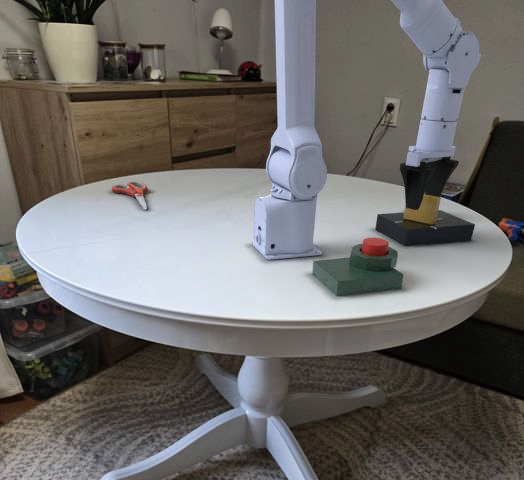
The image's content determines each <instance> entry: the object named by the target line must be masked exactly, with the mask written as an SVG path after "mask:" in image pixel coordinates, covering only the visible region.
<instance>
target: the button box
mask: <svg viewBox="0 0 524 480" xmlns="http://www.w3.org/2000/svg"><path fill="white" fill-rule="evenodd" d="M361 250H362V243H358V244H356V245H354V246H351V249H350V257H339V258H328V259H319V260H313V261H312V272H311V274H312V276H313V277H314V278H315V279H316V280H318V282H320V283H321V284H322V285H323V287H325V288H327V290H329V292H331V293H332V294H333V295H334V296H335V297H342V296H344V297H345V296H350V295H351V296H353V295H359V294H367V293H369V294H370V293H377V292H386V291H392V290H402V286H403V280H404V276H405V275H404V273H402V272H401V271H399V270H398V269H396V267H397V263H398V258H399V253H398V250H396V249H394V248H392V247H391V246H388V251H387V255H386V256H371V255H367V254H363V253H362V252H361Z"/></svg>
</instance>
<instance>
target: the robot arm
mask: <svg viewBox="0 0 524 480" xmlns="http://www.w3.org/2000/svg"><path fill="white" fill-rule="evenodd" d="M390 2H391V3H393V5H394V6H395V7H396V8H397V9H398V10H399V11H400V18H399V26H400V28H401V29H402V30H403V31H404V33H405V34H406V35H407V36H408V37H409V38H410V40H411V41H412V42H413V44H414V45H415V46H416V47H417V48H418V50H419V51H420V52H421V53H422V61H423V67H424V69H425V71H428V77H427V82H426V88H425V94H424V99H423V105H422V110H421V116H420V121H419V127H418V131H417V138H416V143H415V145H409V146H408V152H407V153H406V154H407V155H406V160H405V162H401V163H400V164H399V172H400V174H401V177H402V180H403V186H404V200H405V205H406V208H409V209H413V210H418V209H419V207H420V205H421V203H422V200H423V196H424V193H425V195H431V196H436V197H441V195H442V194H443V191H444V189H445V187H446V185H447V182H448V181H449V179H450V178H451V176H452V174H453V173H454V171H455V170H456V169H457V168H458V166H459V163H460V161H459V160H457V159H454V156H455V152H456V148H457V146H456V145H453V143H454V139H455V135H456V129H457V125H458V121H459V116H460V111H461V107H462V103H463V98H464V93H465V89H466V88H467V85H469V84H470V83H469V82H470V78H471V75H472V73H473V72H474V71H475V70H476V68H477V67H478V65H479V63H480V61H481V58H482V53H480V42H479V40H478V38H477V36H476V35H475V34H474V33H473V32H472V31H470V30H469V31H468V30H463V27H462V26H461V24H462V22H461V21H460V20H459V18H455V17H454V15H453V14H452V12H451V11H450V10H449V8H448V7H447V5H446V4H445V3H444V0H390ZM274 29H275V30H274V32H275V34H274V35H275V69H276V71H275V72H276V73H275V74H276V111H277V128H276V130H275V131H274V132H273V134H272V136H271V138H270V151H269V155H268V157H267V159H266V163H265V171H266V175H267V178H268V179H269V181H270V182H271V183H272V185H271V189H270V194H268V195H265V196H260V197H257V198H256V199H255V203H254V212H253V214H254V215H253V241H252V246H253V247H254V248H255V249H256V250H257V251H258V252H259V253H260V254H261V255H262V256H263V258H265V259H266V260H267V261H268V260H269V261H271V260H280V259H281V260H282V259H283V260H284V259H293V258H304V257H305V258H306V257H315V256H316V257H317V256H323V251H321V250H320V249H319V248H318V247H316V246H315V245H314V238H315V235H314V234H315V225H316V213H317V212H316V211H317V200H318V194H320V193H321V191H322V190H323V188H324V187H325V185H326V182H327V180H328V179H327V178H328V169H327V165H326V162H325V160H324V158H323V144H322V141H321V139H320V136H319V134H318V132H317V129H316V126H315V121H316V115H315V114H316V51H317V49H316V46H317V45H316V44H317V43H316V42H317V41H316V40H317V39H316V38H317V30H316V29H317V0H274Z"/></svg>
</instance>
